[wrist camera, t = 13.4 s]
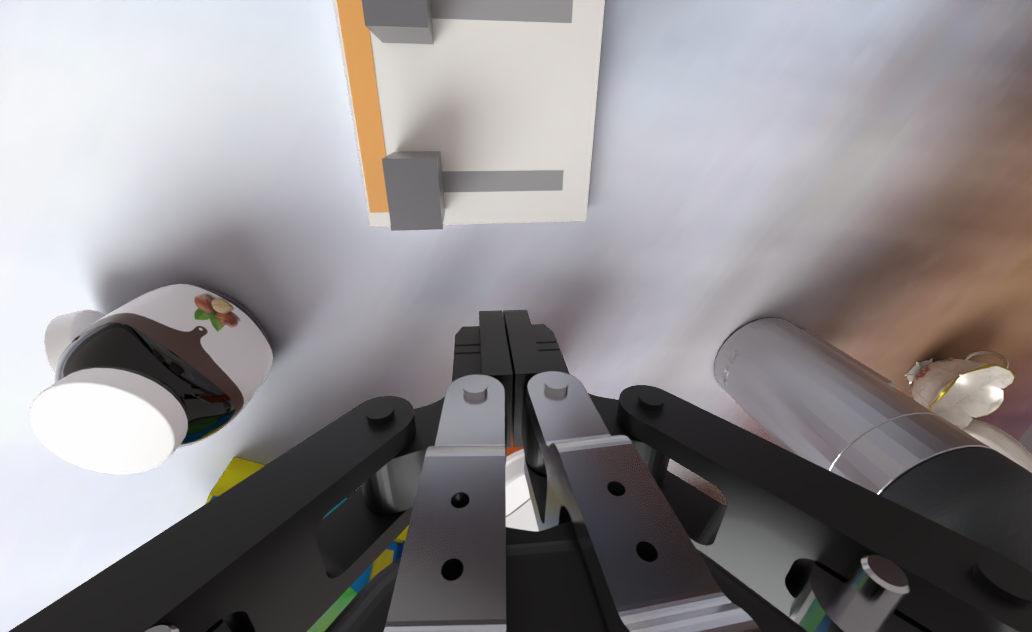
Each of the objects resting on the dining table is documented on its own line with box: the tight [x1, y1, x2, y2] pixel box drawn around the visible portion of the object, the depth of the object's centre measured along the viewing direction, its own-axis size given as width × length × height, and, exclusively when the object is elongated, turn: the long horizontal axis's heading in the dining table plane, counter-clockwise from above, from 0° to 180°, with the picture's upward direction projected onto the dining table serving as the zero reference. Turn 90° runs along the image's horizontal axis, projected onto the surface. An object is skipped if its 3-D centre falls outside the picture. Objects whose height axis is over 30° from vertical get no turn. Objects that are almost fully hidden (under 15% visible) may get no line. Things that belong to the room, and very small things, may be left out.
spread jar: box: [29, 284, 273, 474], centre depth 27 cm, size 12×11×12 cm
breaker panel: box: [333, 0, 605, 227], centre depth 27 cm, size 16×16×2 cm
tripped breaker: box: [382, 151, 445, 230], centre depth 25 cm, size 3×4×5 cm
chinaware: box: [905, 351, 1032, 473], centre depth 43 cm, size 28×17×17 cm, turn 160°
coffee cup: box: [505, 431, 539, 531], centre depth 32 cm, size 8×8×15 cm
